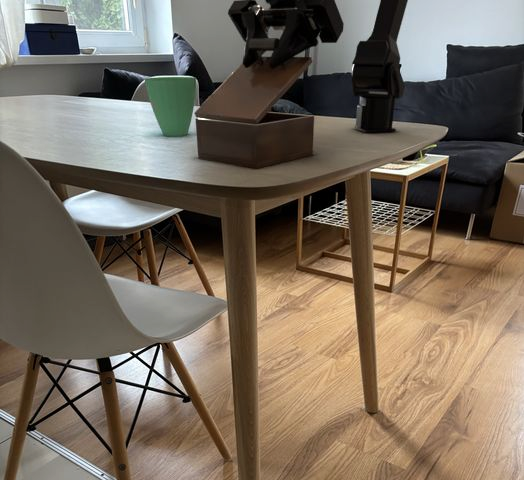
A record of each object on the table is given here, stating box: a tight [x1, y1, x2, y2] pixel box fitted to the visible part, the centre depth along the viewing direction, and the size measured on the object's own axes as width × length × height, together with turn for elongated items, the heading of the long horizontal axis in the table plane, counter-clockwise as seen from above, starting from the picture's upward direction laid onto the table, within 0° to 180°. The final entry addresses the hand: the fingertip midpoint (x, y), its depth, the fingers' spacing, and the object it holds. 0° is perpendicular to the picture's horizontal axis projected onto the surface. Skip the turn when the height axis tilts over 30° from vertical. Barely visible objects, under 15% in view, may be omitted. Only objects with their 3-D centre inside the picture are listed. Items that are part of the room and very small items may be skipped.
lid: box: [193, 37, 313, 124], centre depth 75 cm, size 14×13×5 cm
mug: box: [144, 76, 197, 137], centre depth 102 cm, size 15×10×10 cm
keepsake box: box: [195, 111, 315, 170], centre depth 80 cm, size 14×13×6 cm
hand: (257, 66), depth 76 cm, fingers closed on lid, 5 cm apart
